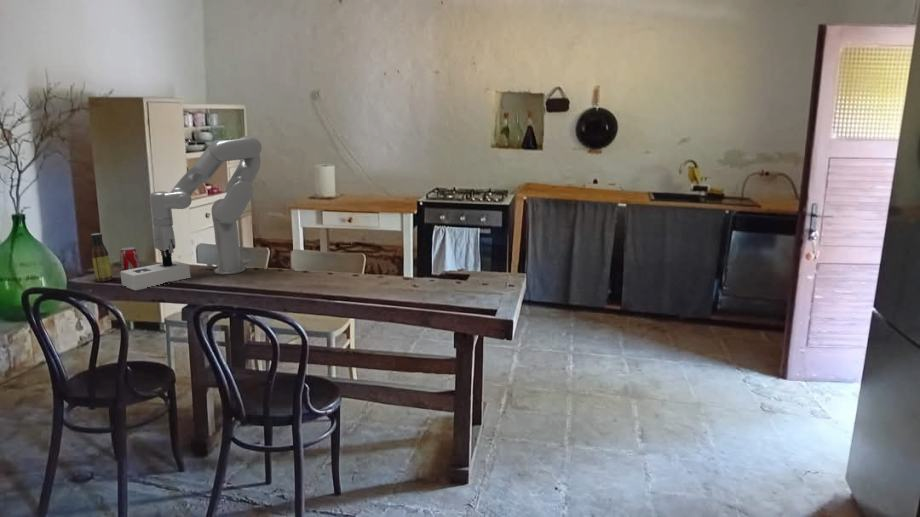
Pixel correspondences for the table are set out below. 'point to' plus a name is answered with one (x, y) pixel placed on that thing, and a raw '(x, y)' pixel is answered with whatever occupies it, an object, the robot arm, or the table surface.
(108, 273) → the sauce bottle
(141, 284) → the pin block
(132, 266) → the soda can
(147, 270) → the outer pin
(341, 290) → the table surface
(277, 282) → the table surface
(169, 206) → the robot arm
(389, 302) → the table surface
